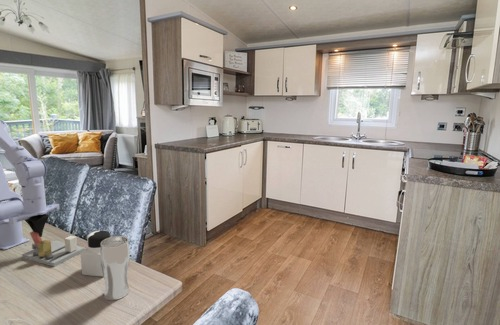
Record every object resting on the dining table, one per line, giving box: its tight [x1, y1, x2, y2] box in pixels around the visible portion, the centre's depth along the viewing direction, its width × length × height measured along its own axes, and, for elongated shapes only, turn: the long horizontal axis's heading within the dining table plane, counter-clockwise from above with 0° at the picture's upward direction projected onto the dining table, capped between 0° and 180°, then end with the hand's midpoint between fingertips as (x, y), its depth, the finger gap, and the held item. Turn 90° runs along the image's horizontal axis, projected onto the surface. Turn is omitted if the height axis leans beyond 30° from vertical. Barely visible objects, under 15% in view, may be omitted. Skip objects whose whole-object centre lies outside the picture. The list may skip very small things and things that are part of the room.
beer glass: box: [100, 235, 131, 301], centre depth 72 cm, size 7×7×15 cm
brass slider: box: [38, 239, 52, 257], centre depth 88 cm, size 2×2×4 cm
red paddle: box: [29, 231, 43, 248], centre depth 91 cm, size 4×1×7 cm, turn 72°
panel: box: [22, 239, 86, 267], centre depth 92 cm, size 15×11×3 cm
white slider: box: [64, 235, 78, 252], centre depth 91 cm, size 2×2×4 cm
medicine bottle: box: [80, 230, 111, 278], centre depth 83 cm, size 7×7×12 cm
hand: (38, 236), depth 90 cm, fingers closed, pressing on red paddle
